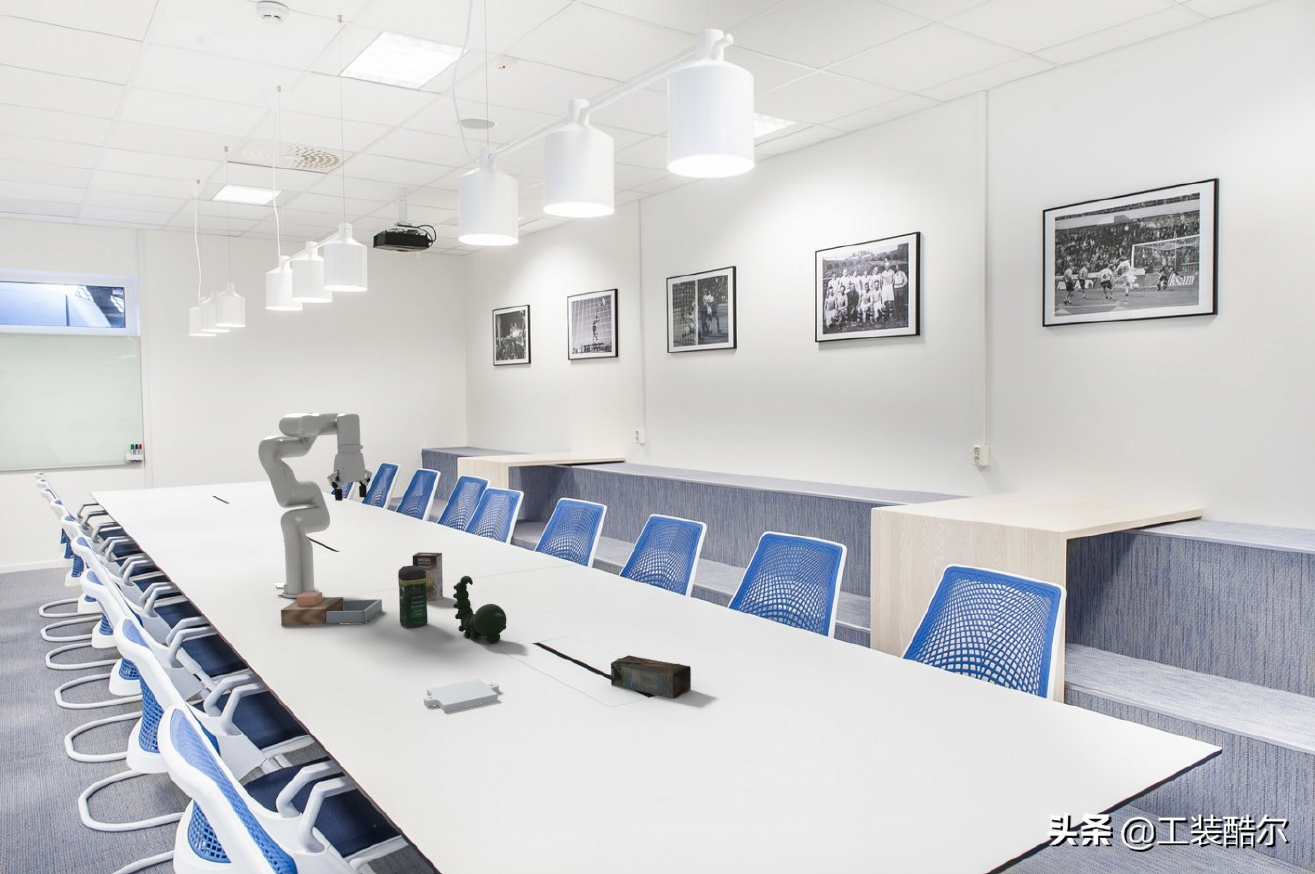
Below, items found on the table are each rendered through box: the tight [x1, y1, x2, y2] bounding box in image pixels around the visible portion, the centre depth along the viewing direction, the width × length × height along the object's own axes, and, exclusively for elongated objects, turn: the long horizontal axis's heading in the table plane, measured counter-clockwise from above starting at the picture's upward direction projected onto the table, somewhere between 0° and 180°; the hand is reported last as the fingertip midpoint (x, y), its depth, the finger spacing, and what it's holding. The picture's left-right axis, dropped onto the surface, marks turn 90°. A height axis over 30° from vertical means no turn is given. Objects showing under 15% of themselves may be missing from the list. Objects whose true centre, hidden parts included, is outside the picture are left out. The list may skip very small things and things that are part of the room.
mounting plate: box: [423, 678, 500, 712], centre depth 206 cm, size 18×13×2 cm
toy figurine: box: [452, 575, 507, 645], centre depth 255 cm, size 9×19×25 cm
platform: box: [280, 596, 344, 626], centre depth 283 cm, size 14×16×5 cm
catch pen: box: [324, 598, 383, 625], centre depth 283 cm, size 13×16×4 cm
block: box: [296, 591, 323, 606], centre depth 283 cm, size 6×6×3 cm
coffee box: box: [412, 551, 444, 601], centre depth 307 cm, size 9×6×16 cm
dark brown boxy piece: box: [610, 654, 692, 699], centre depth 210 cm, size 8×19×7 cm, turn 55°
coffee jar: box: [397, 564, 429, 628], centre depth 272 cm, size 10×8×19 cm
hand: (351, 498), depth 297 cm, fingers open, 9 cm apart
